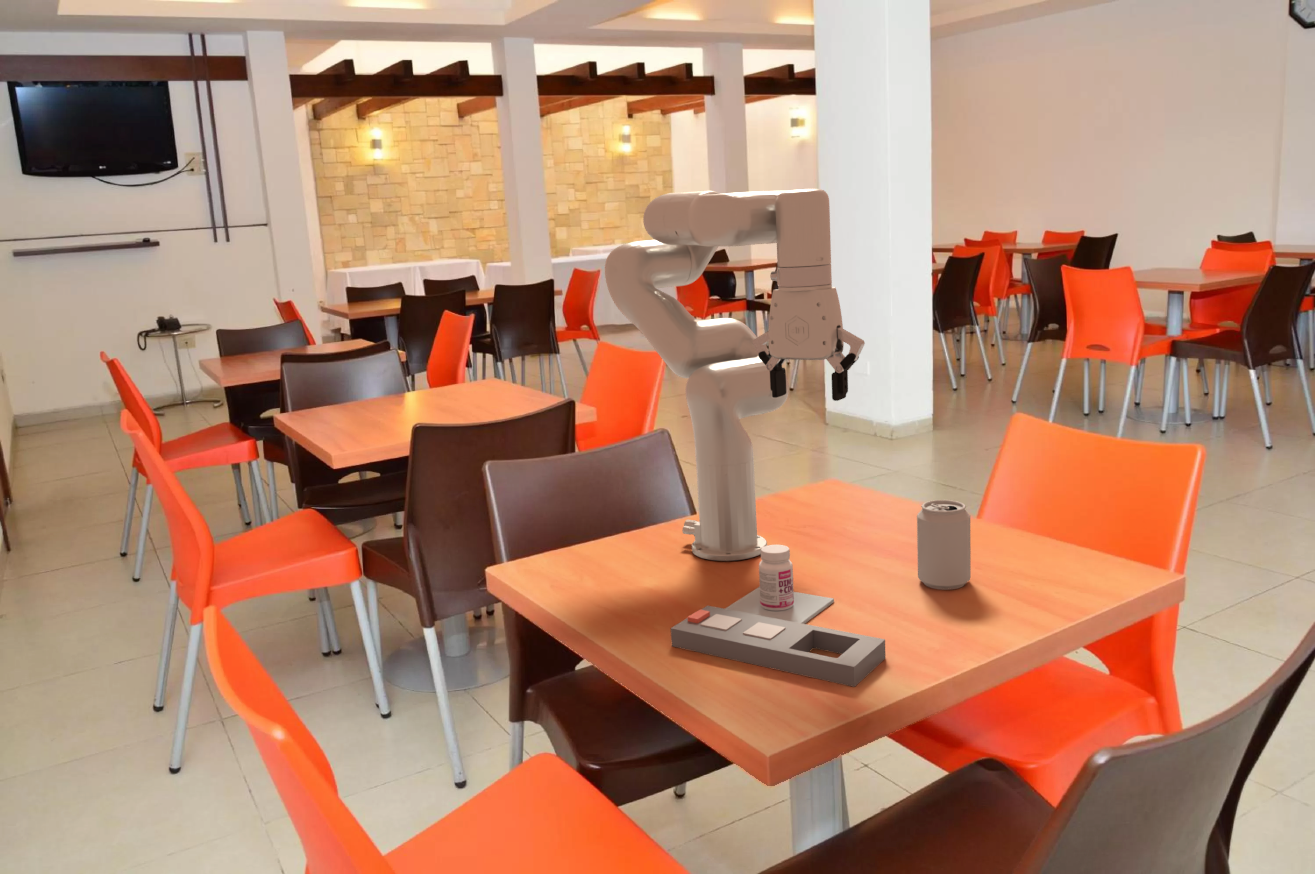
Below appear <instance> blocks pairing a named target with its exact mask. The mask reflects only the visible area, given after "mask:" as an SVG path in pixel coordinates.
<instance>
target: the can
mask: <svg viewBox="0 0 1315 874" xmlns="http://www.w3.org/2000/svg"><path fill="white" fill-rule="evenodd" d="M920 507H921V510H920V511H919V512H917V515H916V530H917V531H916V533H917V534H916V537H917V538H916V539H917V545H916V546H917V547H916V548H917V578H918V580H919V581H920V582H921V583H923V584H924V585H925V586H926V587H927V588H931V589H936V590H945V591H946V590H949V591H950V590H956V589H960V588H963V587H964V586H965V585H966V584H967V583H968V582H969V581H971V569H972V568H971V557H972V556H971V555H972V553H971V552H972V551H971V514H970V513H969V512H968V511H967V509H966V508H967V506H966V504H965V503H963V502H961V501H957V500H951V499H935V500H930V501H929V500H928V501H925V502H924V503H922V504H921V506H920Z"/></svg>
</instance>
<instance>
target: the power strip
mask: <svg viewBox="0 0 1315 874" xmlns="http://www.w3.org/2000/svg"><path fill="white" fill-rule="evenodd" d="M670 636H671V637H670V639H671V647H675V648H678V649H682V650H687V651H693V652H696V653H701V654H706V655H710V656H715V657H718V658H724V659H727V660H728V659H729V660H732V661H737V662H741V663H746V664H750V665H754V666H755V665H756V666H758V667H759V666H760V667H764V668H769V669H774V670H778V671H781V672H782V671H783V672H786V673H791V674H795V675H801V676H805V677H808V678H814V679H818V680H823V681H828V682H831V683H837V684H840V685H844V686H850V687H854V688H855V687H856V686H857V685H858V684H859V683H861V682H862V681H863V680H864V679H865V678H866V677H867V676H868V675H869V674H870V673H871V672H872V671H874V670H875V669H876V668H877V667H878V666H879V665H880V664H882V662H883V661H884V660H885V659H886V639H885V638H880V637H875V636H869V635H864V634H859V633H854V632H850V631H849V632H848V631H843V630H838V629H833V628H827V627H822V626H818V625H812V624H807V623H805V624H802V623H797V622H792V621H786V620H781V619H776V618H771V617H765V616H760V615H755V614H750V613H744V612H739V611H734V610H729V609H725V608H722V607H718V606H712V605H706V606H705V607H703V608H701V609H698V610H697V611H695V612H693V613H692V614H690V615H688V616H687V617H686V618H684V619H683V620H681V622H679V623H677V624H674V626H672V627H671V628H670ZM814 649H817V650H821V651H825V652H826V651H827V652H830V653H831V652H832V653H835V654H840V656H838V657H831V656H827V655H822V654H817V653H812V652H811V651H812V650H814Z"/></svg>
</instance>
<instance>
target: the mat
mask: <svg viewBox="0 0 1315 874" xmlns="http://www.w3.org/2000/svg"><path fill="white" fill-rule="evenodd" d="M793 592H794V605H793V606H792V607H791V608H789V609H786V610H782V611H771V610H767V609H764V608H763V607H761V605H760V586H758V587H756V588H755V589H754V590H752V591H750V592H749V593H747V594H746V595H744V596H743V597H741V598H739V599H737V600H736V601H735V602H733V603H731V604H730V605H729V606H726V607H725V608H724V609H729V610H734V611H739V612H744V613H750V614H755V615H760V616H765V617H771V618H776V619H781V620H786V621H792V622H797V623H802V624H807V623H808V622H809V621H810V620H812V619H814V617H816V616H818V614H820V613H821V612H822V611H824V610H825V609H826V608H828V607H830V606H831V604H833V603H835V599H834V598H832V597H827V596H821V595H815V594H810V593H803V592H798V591H793Z"/></svg>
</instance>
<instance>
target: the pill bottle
mask: <svg viewBox="0 0 1315 874" xmlns="http://www.w3.org/2000/svg"><path fill="white" fill-rule="evenodd" d="M790 551H791V550H790V547H788V546H787V545H784V544H769V545H768V544H767V546H764V547H762V548H761V554H760V559H761V561H759V562H758V563H759V564H758V575H759V577H758V578H759V587H760V605H761V607H763V608H764V609H767V610H771V611H782V610H786V609H789V608H791V607H792V606H793V605H794V592H795V591H794V571H793V570H794V568H793V562H792V561H791V560H790V556H791V552H790Z"/></svg>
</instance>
